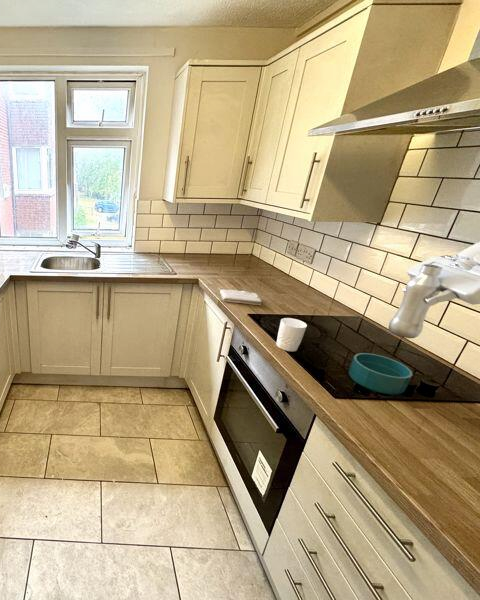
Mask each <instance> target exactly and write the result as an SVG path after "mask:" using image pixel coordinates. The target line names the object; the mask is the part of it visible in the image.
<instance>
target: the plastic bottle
mask: <svg viewBox="0 0 480 600" xmlns="http://www.w3.org/2000/svg"><path fill="white" fill-rule="evenodd" d="M442 268H443V267H440V266H436V265H430V264H423V265H422V267H421V269H420V271H419V272H420V274H418V275H416V276H415V277H413V278H410V279H409V280H407V282H406V284H405V287H406V288H405V287H404V288H405V293H404V292H403V297H402V300H401V303H400V305H399V307H398V309H397V310H396V312H395V315H394V316H393V317H392V318H391V319H390V321H389V323H388V330H389V332H390V333H391V334H392V335H395V336H397V337H400V338H401V337H402V338H405V339H415V338H417V337H419V336H420V335H421V334H422V332H423V328H424V323H425V319H426V316H427V313H428V312H429V309H430V308H431V306H430V305H428V304H426V303H425V301H424V299H425V298H427V297H429V296H436V295H439V294H441V289H442V287H441V283H440V280H439V278H438V275H440V274H441V271H442Z"/></svg>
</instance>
